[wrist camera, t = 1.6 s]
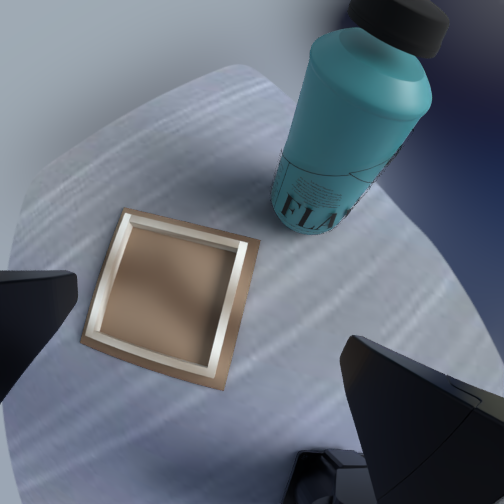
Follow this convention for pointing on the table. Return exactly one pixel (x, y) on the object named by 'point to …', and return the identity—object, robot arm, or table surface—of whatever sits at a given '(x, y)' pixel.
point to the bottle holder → (171, 297)
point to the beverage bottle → (355, 109)
